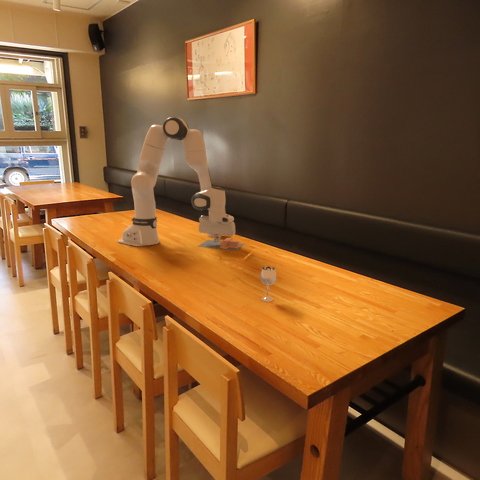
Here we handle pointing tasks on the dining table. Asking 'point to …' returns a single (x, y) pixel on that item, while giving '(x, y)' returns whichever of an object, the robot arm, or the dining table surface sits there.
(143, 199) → the robot arm
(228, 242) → the t block
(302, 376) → the dining table surface
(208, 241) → the t mat
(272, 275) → the wineglass
